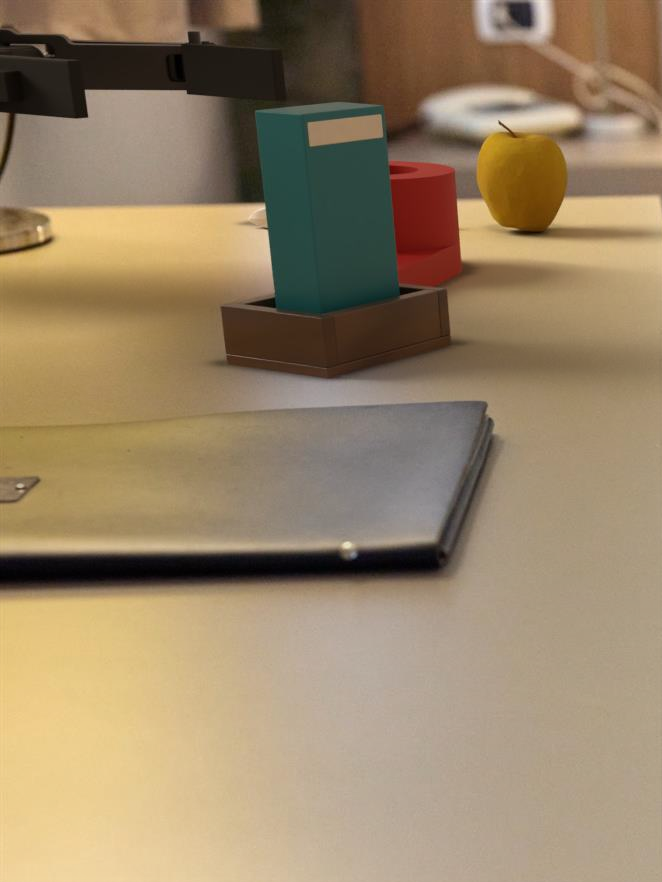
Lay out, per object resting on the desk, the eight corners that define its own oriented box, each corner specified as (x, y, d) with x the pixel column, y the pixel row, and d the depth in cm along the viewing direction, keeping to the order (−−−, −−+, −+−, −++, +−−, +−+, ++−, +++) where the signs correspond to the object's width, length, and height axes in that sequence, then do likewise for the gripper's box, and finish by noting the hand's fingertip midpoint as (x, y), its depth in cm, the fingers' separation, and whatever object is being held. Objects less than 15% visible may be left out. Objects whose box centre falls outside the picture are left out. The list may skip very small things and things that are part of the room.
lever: (320, 263, 129) (310, 160, 127) (467, 263, 131) (459, 161, 128) (277, 316, 113) (264, 199, 110) (445, 314, 114) (436, 199, 112)
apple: (462, 230, 144) (454, 118, 141) (535, 222, 148) (529, 114, 145) (513, 241, 140) (506, 126, 137) (586, 233, 144) (581, 121, 141)
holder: (328, 383, 98) (322, 318, 96) (227, 369, 100) (219, 304, 99) (452, 349, 106) (447, 288, 105) (355, 336, 108) (350, 276, 107)
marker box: (326, 357, 99) (302, 114, 95) (279, 350, 101) (253, 110, 96) (404, 336, 105) (385, 105, 100) (358, 330, 106) (337, 101, 101)
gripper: (-341, -7, 97) (-34, 11, 89) (68, -14, 118) (344, 1, 110) (-310, 148, 99) (-9, 179, 92) (85, 114, 121) (356, 137, 113)
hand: (185, 82), depth 101 cm, fingers open, 13 cm apart
